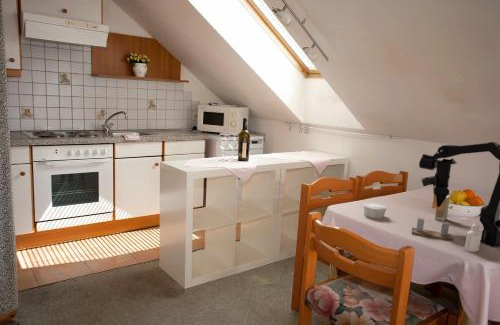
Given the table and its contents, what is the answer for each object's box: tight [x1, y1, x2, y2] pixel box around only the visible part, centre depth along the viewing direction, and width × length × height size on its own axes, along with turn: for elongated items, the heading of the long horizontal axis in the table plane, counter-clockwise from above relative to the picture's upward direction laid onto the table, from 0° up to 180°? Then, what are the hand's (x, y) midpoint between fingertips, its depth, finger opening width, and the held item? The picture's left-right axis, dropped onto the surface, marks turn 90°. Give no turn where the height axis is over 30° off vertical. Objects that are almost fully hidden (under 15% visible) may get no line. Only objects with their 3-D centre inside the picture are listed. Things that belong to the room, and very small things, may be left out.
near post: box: [440, 221, 450, 237], centre depth 177 cm, size 3×3×6 cm
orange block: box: [431, 193, 446, 210], centre depth 187 cm, size 5×5×7 cm
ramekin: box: [363, 202, 387, 220], centre depth 203 cm, size 11×11×5 cm
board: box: [411, 227, 453, 242], centre depth 179 cm, size 16×7×1 cm, turn 67°
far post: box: [415, 217, 425, 232], centre depth 180 cm, size 3×3×6 cm
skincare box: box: [434, 194, 451, 222], centre depth 203 cm, size 6×4×12 cm
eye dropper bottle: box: [464, 221, 482, 253], centre depth 163 cm, size 4×6×12 cm
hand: (438, 205), depth 188 cm, fingers closed on orange block, 5 cm apart
